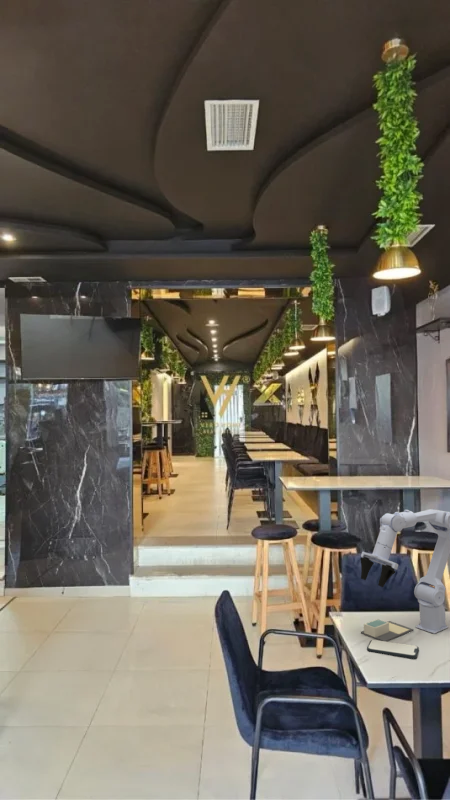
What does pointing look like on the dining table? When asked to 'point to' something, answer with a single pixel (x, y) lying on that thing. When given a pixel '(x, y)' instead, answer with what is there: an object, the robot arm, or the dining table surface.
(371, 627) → the card box
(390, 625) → the mat
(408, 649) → the phone case
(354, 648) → the dining table surface
